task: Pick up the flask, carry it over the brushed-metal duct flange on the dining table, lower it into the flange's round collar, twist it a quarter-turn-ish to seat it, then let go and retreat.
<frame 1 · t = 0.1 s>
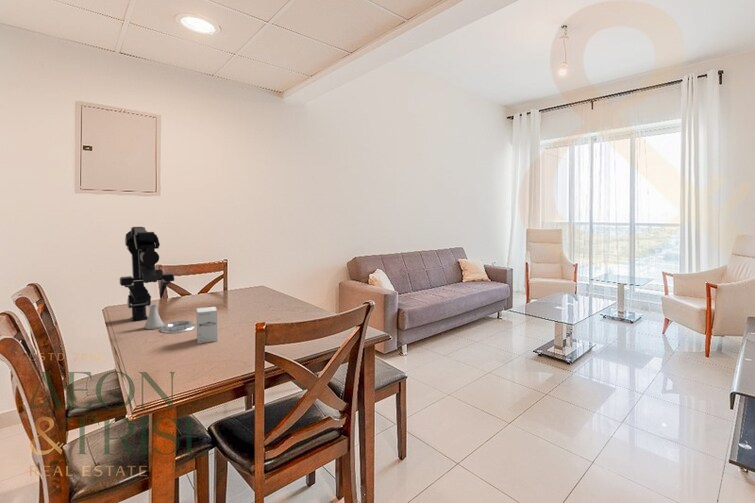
hand: (148, 299, 155), 14 cm above the table, fingers open, 9 cm apart
supplement box: (207, 340, 149), on the table
duct flange: (178, 328, 164), on the table
flask: (154, 327, 165), on the table
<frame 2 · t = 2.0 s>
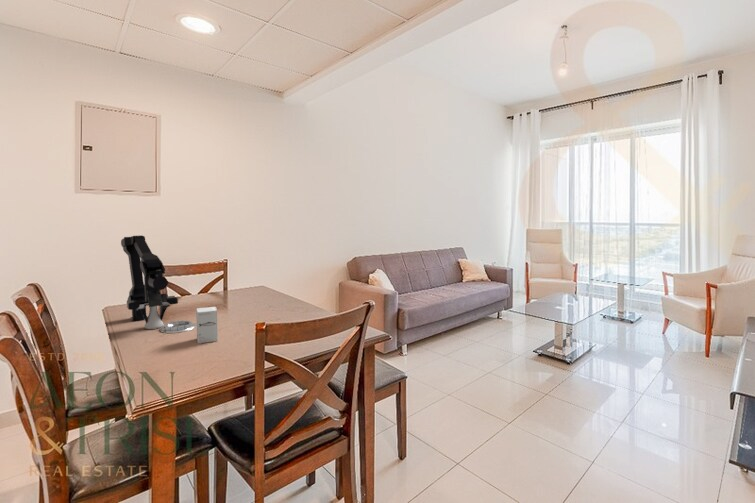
hand: (153, 321, 165), 3 cm above the table, fingers closed on flask, 5 cm apart
flask: (154, 327, 165), on the table, touching gripper
everything else where it was.
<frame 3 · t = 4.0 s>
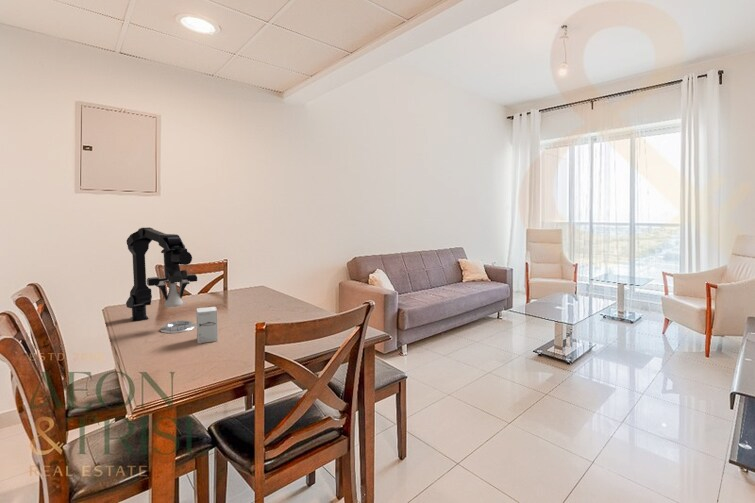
hand: (173, 299, 163), 13 cm above the table, fingers closed on flask, 5 cm apart
flask: (173, 306, 163), point 10 cm above the table, touching gripper
everything else where it was.
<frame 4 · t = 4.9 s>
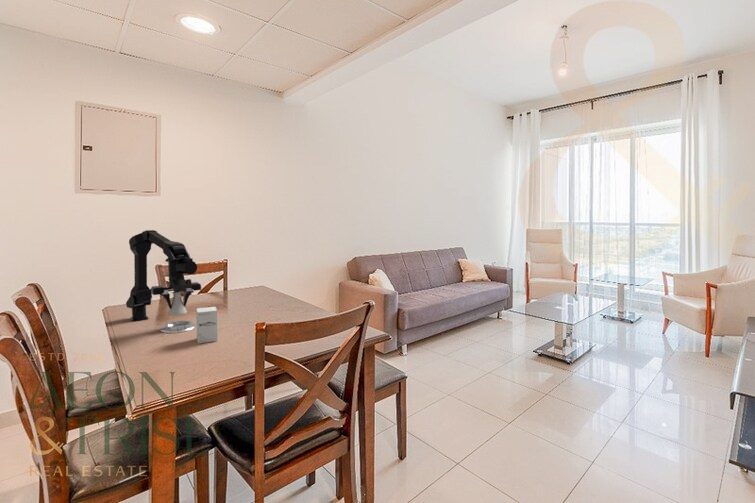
hand: (177, 307, 163), 9 cm above the table, fingers closed on flask, 5 cm apart
flask: (177, 314, 164), point 6 cm above the table, touching gripper
everything else where it was.
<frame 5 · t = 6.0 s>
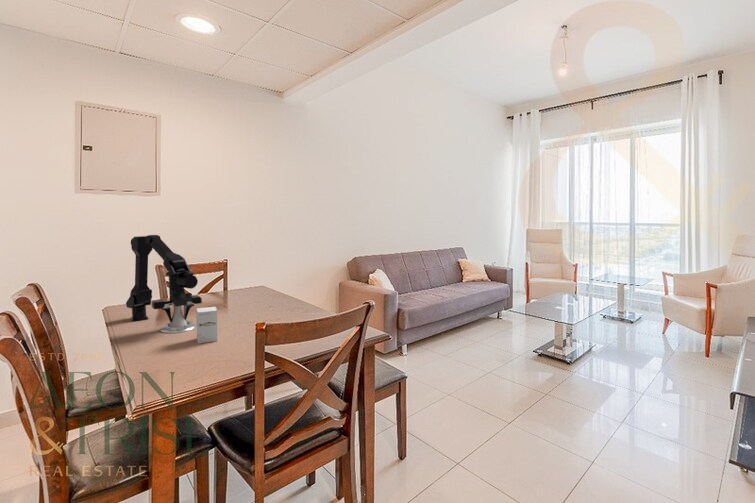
hand: (178, 321, 164), 3 cm above the table, fingers closed on flask, 5 cm apart
flask: (178, 327, 164), resting on duct flange, touching gripper
everything else where it was.
when the fingers open (3 cm above the table, at t = 7.4 s): flask stays where it is, resting on duct flange.
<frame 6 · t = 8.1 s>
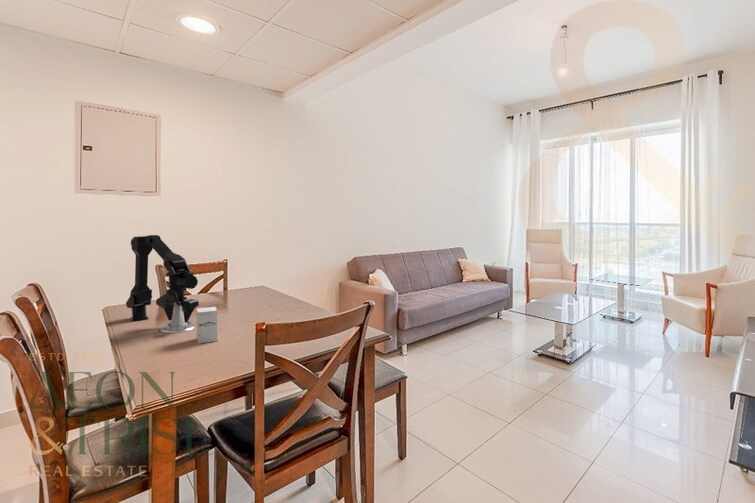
hand: (178, 321, 164), 3 cm above the table, fingers open, 9 cm apart
flask: (178, 327, 164), resting on duct flange
everything else where it was.
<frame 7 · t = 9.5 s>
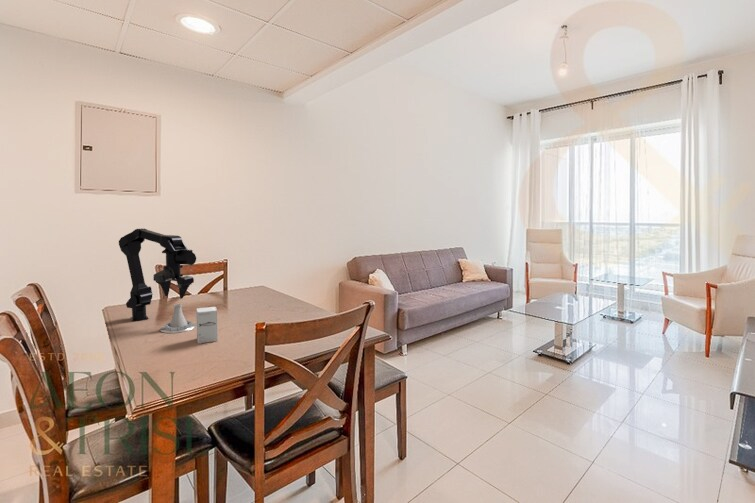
hand: (174, 297, 170), 12 cm above the table, fingers open, 9 cm apart
nothing on the table moved.
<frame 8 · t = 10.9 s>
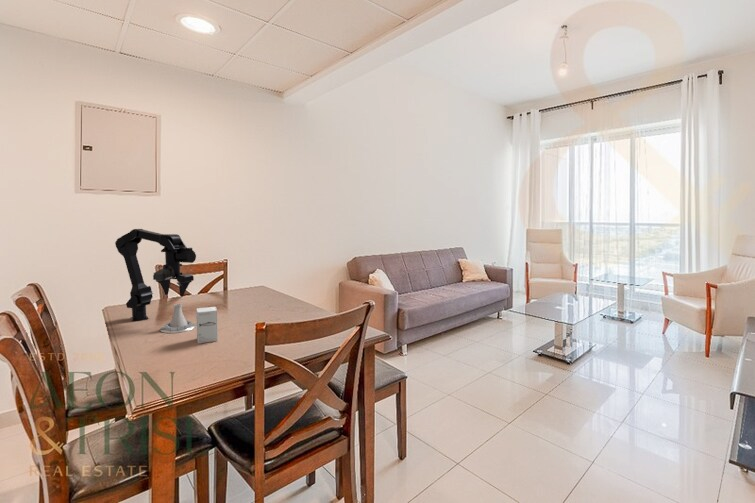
hand: (174, 295, 172), 13 cm above the table, fingers open, 9 cm apart
nothing on the table moved.
at the end: flask 0.1 cm from the duct flange (horizontally); flask tilted 0°; the gripper is holding nothing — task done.
